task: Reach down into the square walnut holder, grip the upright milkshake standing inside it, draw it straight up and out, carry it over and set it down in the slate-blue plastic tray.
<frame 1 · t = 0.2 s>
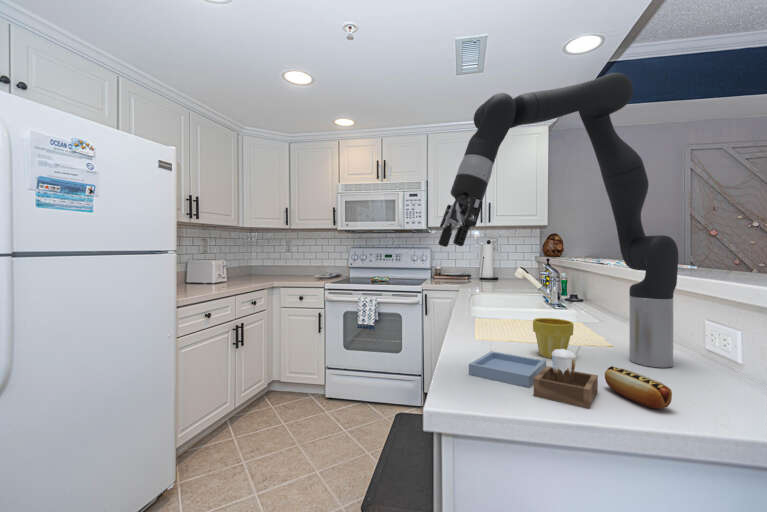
hand: (449, 245, 82), 31 cm above the counter, tool tilted 20°, fingers open, 8 cm apart
tray: (508, 372, 88), on the counter
plant pot: (552, 356, 102), on the counter
holder: (566, 393, 74), on the counter
milkshake: (566, 394, 74), resting in holder
hot dog: (634, 400, 71), on the counter
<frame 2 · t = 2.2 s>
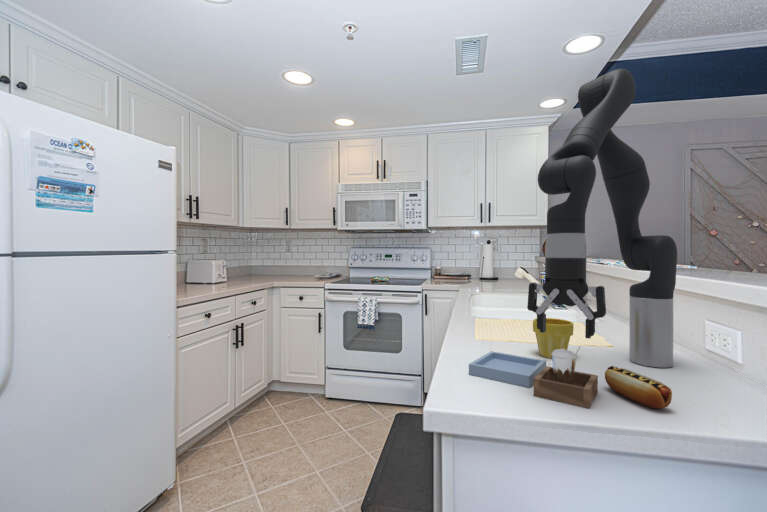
hand: (564, 334, 74), 12 cm above the counter, tool pointing down, fingers open, 8 cm apart
nothing on the counter moved.
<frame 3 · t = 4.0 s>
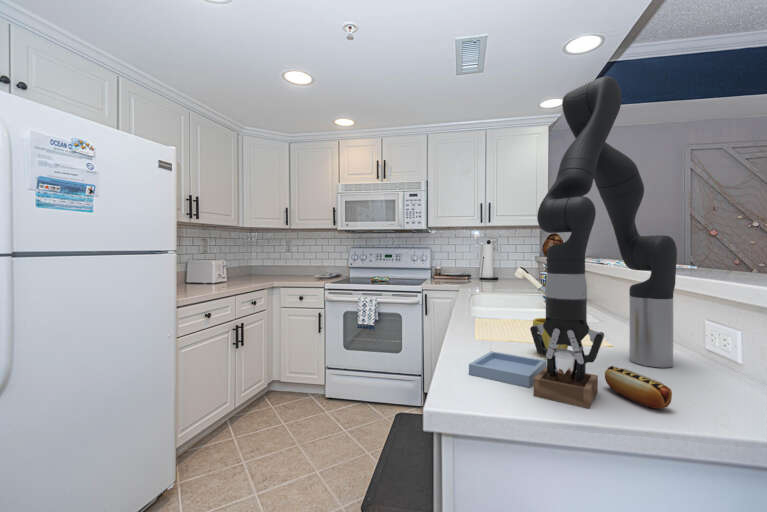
hand: (565, 377, 74), 3 cm above the counter, tool pointing down, fingers closed on milkshake, 4 cm apart
milkshake: (566, 394, 74), resting in holder, touching gripper
everything else where it was.
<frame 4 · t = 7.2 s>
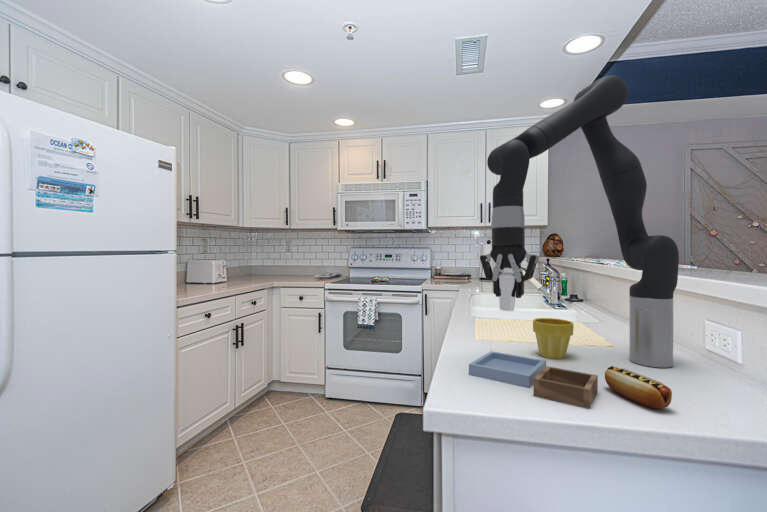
hand: (508, 296, 87), 18 cm above the counter, tool pointing down, fingers closed on milkshake, 4 cm apart
milkshake: (508, 310, 87), point 15 cm above the counter, touching gripper
everything else where it was.
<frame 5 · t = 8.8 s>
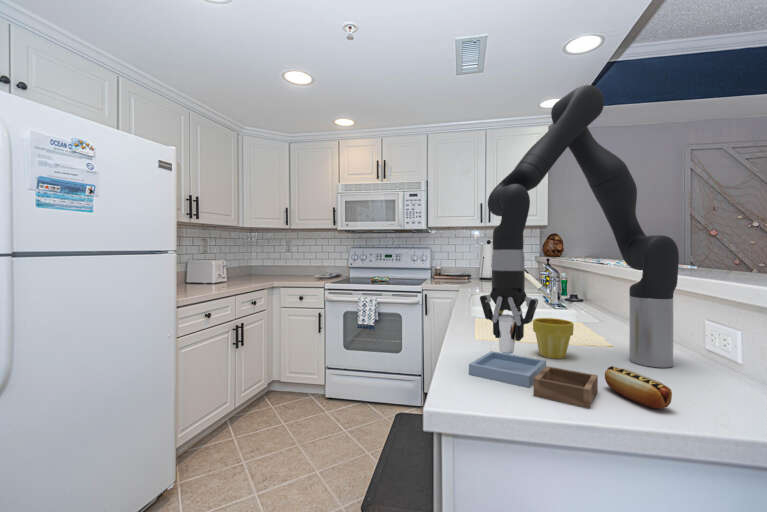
hand: (508, 338, 88), 8 cm above the counter, tool pointing down, fingers closed on milkshake, 4 cm apart
milkshake: (508, 352, 88), point 5 cm above the counter, touching gripper
everything else where it was.
when the fingers open (6 cm above the counter, at t = 10.2 s): milkshake drops 1 cm, resting on tray.
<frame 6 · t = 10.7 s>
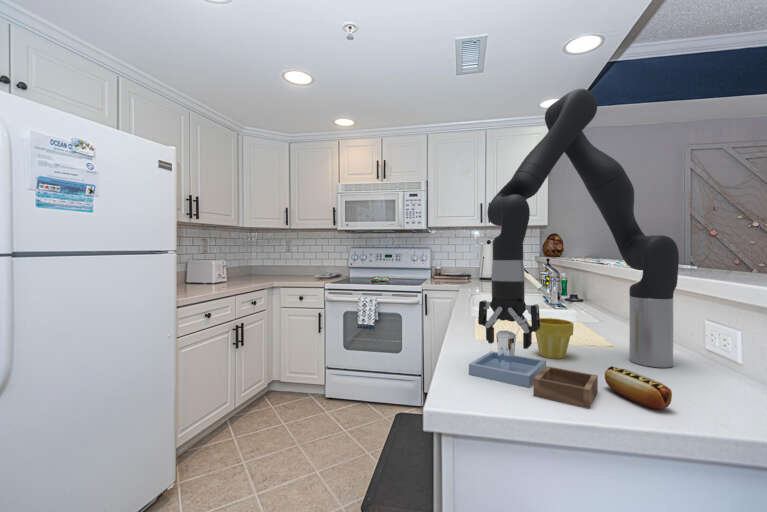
hand: (508, 345, 88), 7 cm above the counter, tool pointing down, fingers open, 8 cm apart
milkshake: (508, 369, 88), point 1 cm above the counter, touching tray
everything else where it was.
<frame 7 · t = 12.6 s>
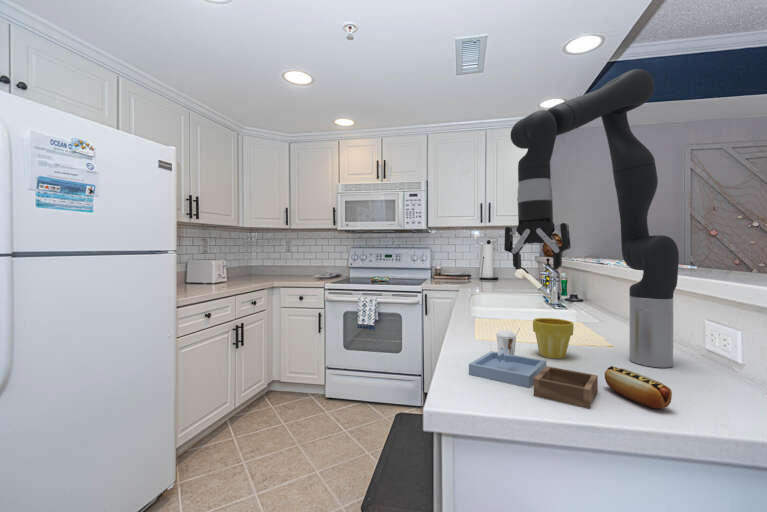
hand: (536, 269, 85), 25 cm above the counter, tool pointing down, fingers open, 8 cm apart
nothing on the counter moved.
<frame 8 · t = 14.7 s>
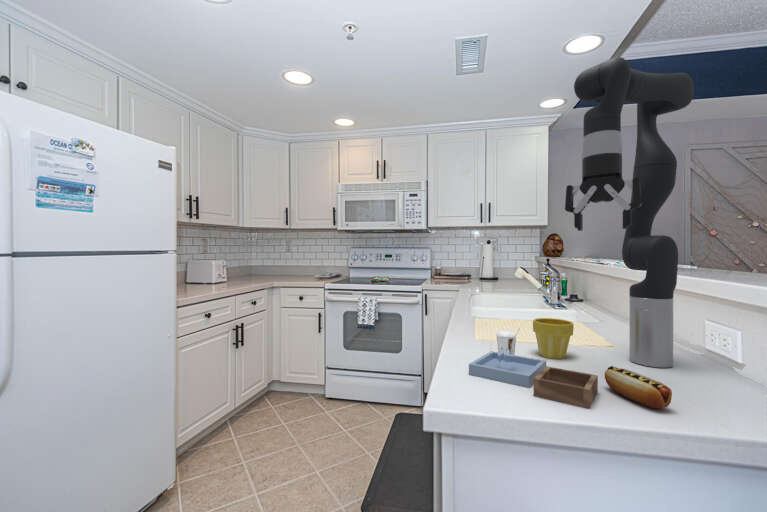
hand: (601, 229, 79), 34 cm above the counter, tool pointing down, fingers open, 8 cm apart
nothing on the counter moved.
at the end: milkshake inside the target area on the tray (0.1 cm from its centre), point 0.8 cm above the tray's base; the gripper is holding nothing; milkshake touching tray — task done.
